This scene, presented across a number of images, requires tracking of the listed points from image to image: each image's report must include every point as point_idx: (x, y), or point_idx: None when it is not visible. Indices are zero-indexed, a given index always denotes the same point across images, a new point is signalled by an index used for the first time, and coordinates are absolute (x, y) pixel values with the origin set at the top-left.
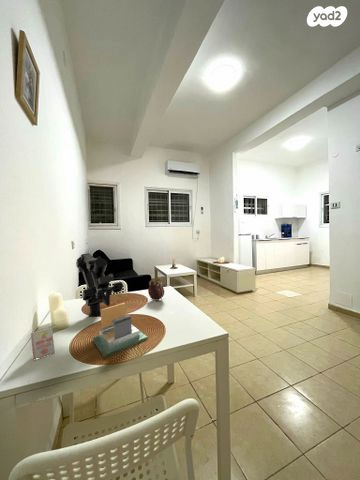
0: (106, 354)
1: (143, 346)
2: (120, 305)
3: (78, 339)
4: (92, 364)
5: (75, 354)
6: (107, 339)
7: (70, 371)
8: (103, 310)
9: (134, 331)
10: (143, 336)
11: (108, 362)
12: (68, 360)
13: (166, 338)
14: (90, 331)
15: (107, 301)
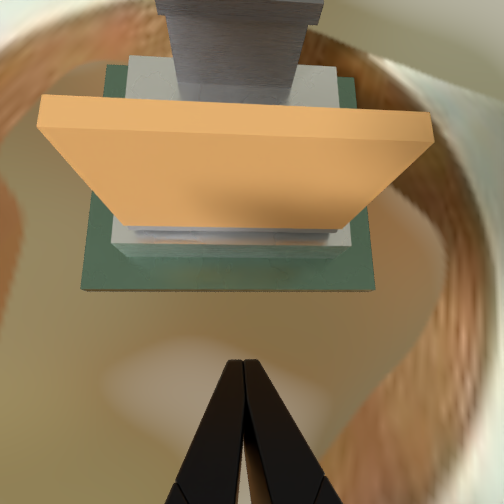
0: (343, 77)
1: (165, 38)
2: (136, 109)
3: (446, 376)
4: (402, 84)
5: (466, 213)
6: (333, 100)
7: (485, 104)
8: (392, 117)
9: (159, 66)
10: (119, 80)
11: (342, 50)
12: (496, 186)
13: (32, 12)
14: (361, 442)
15: (253, 407)
